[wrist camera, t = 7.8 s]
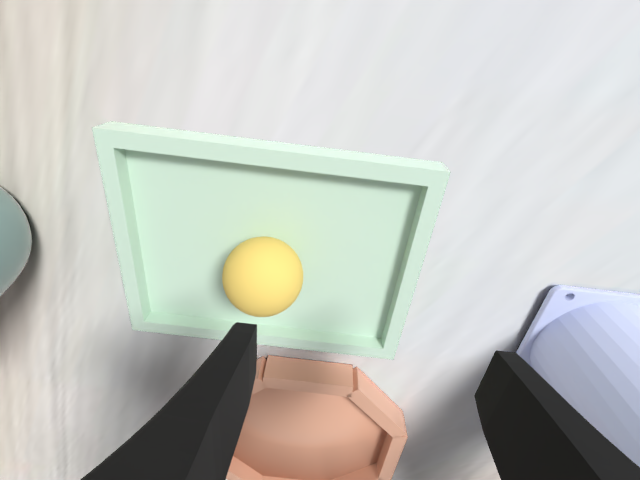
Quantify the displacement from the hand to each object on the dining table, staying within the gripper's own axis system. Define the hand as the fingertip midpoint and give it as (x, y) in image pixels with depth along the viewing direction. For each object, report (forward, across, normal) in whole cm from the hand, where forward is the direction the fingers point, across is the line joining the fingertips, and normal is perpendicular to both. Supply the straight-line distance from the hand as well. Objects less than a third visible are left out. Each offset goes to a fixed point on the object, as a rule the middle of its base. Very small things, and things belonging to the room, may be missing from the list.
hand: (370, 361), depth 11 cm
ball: (+9, +4, +2) cm, 10 cm away
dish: (+9, +2, +18) cm, 20 cm away
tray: (+9, +4, +2) cm, 11 cm away
